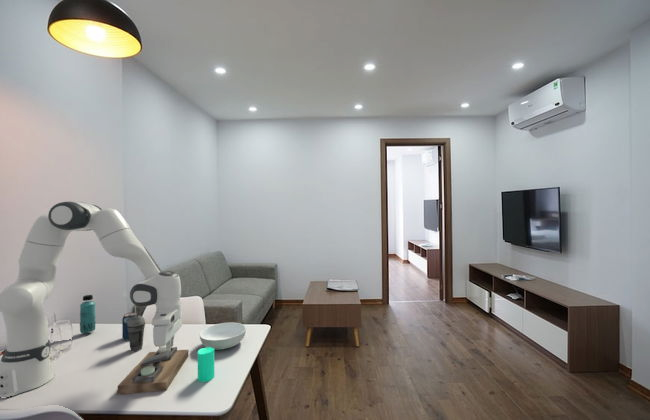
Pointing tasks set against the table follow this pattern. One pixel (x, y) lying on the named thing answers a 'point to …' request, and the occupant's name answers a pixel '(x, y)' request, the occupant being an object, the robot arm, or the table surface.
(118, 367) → the table surface
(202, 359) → the candle
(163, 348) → the button offwhite
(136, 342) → the beverage cup
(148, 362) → the flat grey strip
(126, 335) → the soda can
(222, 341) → the serving bowl
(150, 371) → the button sage
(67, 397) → the table surface
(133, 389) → the switch panel
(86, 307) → the beverage bottle
